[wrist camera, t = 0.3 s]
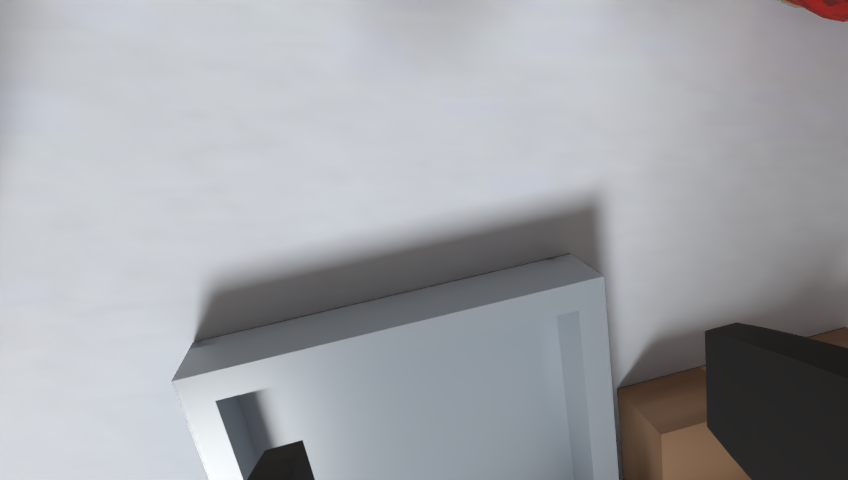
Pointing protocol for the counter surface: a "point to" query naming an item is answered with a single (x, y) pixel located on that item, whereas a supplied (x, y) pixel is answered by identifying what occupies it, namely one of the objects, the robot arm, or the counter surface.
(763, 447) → the robot arm
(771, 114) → the counter surface
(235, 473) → the tray
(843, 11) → the soda can
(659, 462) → the slot block
